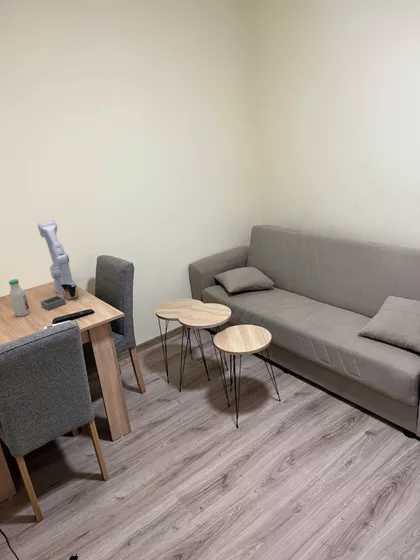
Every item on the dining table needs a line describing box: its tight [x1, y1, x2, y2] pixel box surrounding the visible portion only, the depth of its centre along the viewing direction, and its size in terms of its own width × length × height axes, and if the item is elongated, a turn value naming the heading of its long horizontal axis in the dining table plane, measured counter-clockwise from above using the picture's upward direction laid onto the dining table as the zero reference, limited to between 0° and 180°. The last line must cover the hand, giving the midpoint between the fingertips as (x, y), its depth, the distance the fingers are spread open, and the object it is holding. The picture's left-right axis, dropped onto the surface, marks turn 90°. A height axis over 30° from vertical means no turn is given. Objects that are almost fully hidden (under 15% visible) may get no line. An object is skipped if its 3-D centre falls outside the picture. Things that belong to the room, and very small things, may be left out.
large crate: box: [40, 295, 67, 311], centre depth 230 cm, size 9×11×4 cm
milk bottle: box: [8, 278, 31, 317], centre depth 220 cm, size 8×8×20 cm
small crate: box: [62, 288, 80, 301], centre depth 239 cm, size 5×7×5 cm
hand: (70, 295), depth 239 cm, fingers closed on small crate, 5 cm apart
